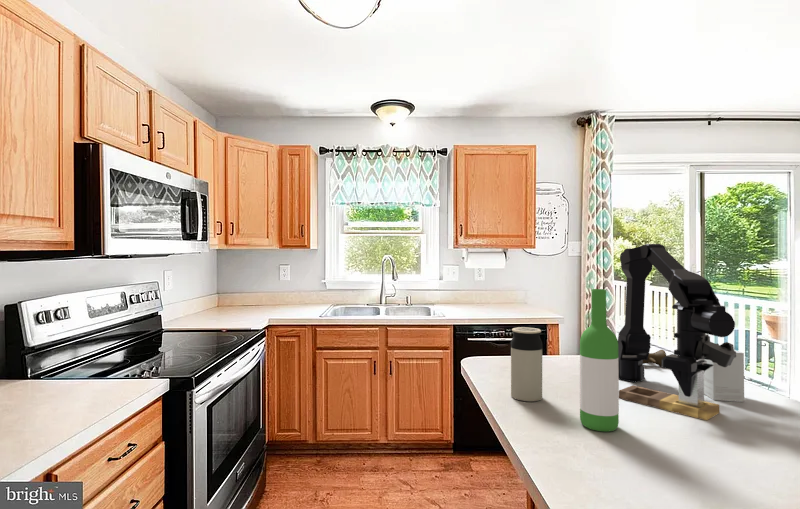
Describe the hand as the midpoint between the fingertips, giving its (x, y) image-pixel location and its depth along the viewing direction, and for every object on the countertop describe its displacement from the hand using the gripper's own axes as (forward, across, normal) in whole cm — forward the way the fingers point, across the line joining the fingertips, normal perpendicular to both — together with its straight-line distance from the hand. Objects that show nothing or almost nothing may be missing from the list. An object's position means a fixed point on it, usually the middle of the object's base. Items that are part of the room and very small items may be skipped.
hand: (691, 394), depth 106 cm
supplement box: (+4, +19, -1) cm, 19 cm away
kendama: (+4, +42, +29) cm, 51 cm away
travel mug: (+4, -23, +30) cm, 38 cm away
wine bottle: (+4, -27, +8) cm, 29 cm away
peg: (+3, 0, 0) cm, 3 cm away
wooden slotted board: (+4, 0, +6) cm, 7 cm away
